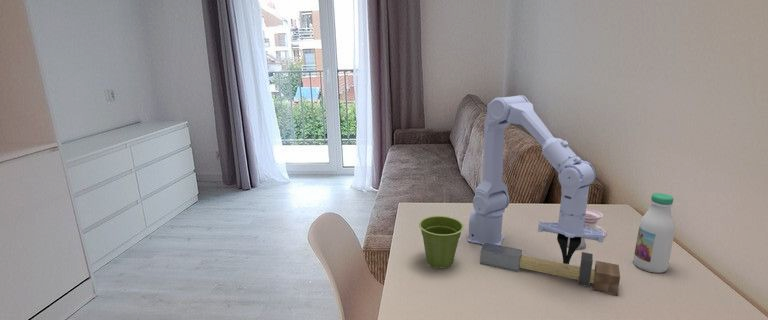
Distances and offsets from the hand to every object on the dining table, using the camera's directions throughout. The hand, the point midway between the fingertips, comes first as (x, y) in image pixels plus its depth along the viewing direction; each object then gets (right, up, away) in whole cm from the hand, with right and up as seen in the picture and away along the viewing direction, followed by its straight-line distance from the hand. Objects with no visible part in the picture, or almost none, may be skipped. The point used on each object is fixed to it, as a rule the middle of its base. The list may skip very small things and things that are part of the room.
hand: (566, 261), depth 103 cm
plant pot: (-30, -3, +9) cm, 32 cm away
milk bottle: (+25, -3, +7) cm, 26 cm away
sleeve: (-14, -3, +8) cm, 16 cm away
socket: (+8, -5, -3) cm, 10 cm away
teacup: (+18, +3, +28) cm, 33 cm away
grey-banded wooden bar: (-1, -4, +2) cm, 4 cm away
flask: (+10, 0, +19) cm, 21 cm away
